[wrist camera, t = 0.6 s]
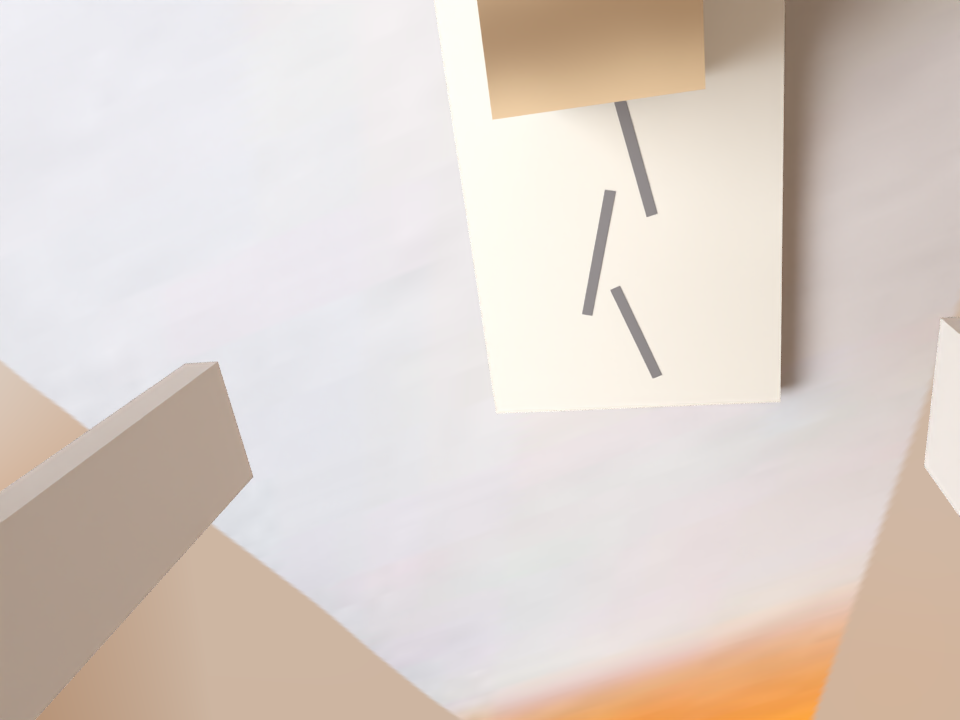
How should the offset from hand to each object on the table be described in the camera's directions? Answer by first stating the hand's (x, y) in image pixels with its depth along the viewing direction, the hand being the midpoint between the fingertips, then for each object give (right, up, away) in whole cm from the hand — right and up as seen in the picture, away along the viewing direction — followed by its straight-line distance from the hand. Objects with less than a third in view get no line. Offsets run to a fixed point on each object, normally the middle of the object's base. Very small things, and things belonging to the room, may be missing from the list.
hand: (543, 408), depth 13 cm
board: (+5, +10, +19) cm, 22 cm away
